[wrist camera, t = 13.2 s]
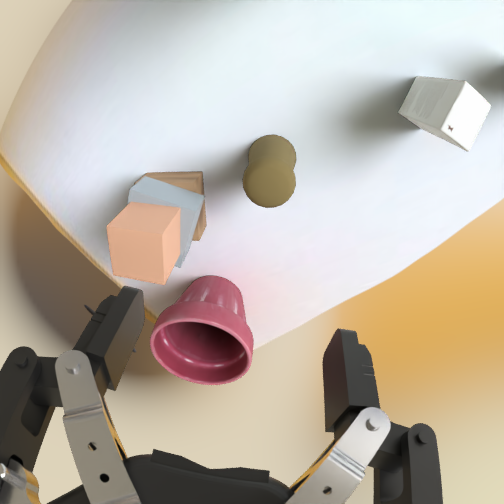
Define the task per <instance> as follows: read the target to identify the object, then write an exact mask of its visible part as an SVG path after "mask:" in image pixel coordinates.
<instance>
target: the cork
mask: <svg viewBox="0 0 504 504" xmlns="http://www.w3.org/2000/svg"><path fill="white" fill-rule="evenodd" d="M248 159H249V165H248V167H247V168H246V170H245V172H244V176H243V188H244V190H245V193H246V195H247V197H248V198H249V199H250V200H251V201H252V202H253V203H255V204H257V205H259V206H262V207H266V208H272V207H277V206H280V205H282V204H284V203H285V202H286V201H288V200H289V198H290V197H291V196H292V194H293V193H294V189H295V186H296V180H295V174H294V172H293V169H294V166H295V163H296V152H295V150H294V147H293V146H292V144H291V143H290V142H289V141H288V140H286V139H285V138H283V137H281V136H278V135H266V136H263V137H260V138H259V139H257V140H256V141H255V142H254V143H253V144H252V146H251V148H250V150H249V154H248Z"/></svg>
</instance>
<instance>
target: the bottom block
mask: <svg viewBox="0 0 504 504" xmlns="http://www.w3.org/2000/svg"><path fill="white" fill-rule="evenodd" d="M144 176H147V177H150V178H153V179H156V180H159V181H162V182H165V183H168V184H171V185H174V186H177V187H180V188H183V189H186V190H189V191H192V192H195V193H198V194H201V195H204V187H203V172H155V173H146V174H145V175H144ZM144 176H142V177H141V178H140V179H139V180H138V181H136V182H135V183H134V185H135V184H136V183H137V182H139V181H140V180H141V179H142V178H143V177H144ZM205 227H206V215H205V201H203V204H202V208H201V211H200V214H199V218H198V221H197V225H196V228H195V231H194V235H193V238H192V240H193V241H199V240H200V238H201V236H202V234H203V232H204V230H205Z"/></svg>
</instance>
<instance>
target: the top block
mask: <svg viewBox="0 0 504 504" xmlns="http://www.w3.org/2000/svg"><path fill="white" fill-rule="evenodd" d="M204 198H205V196H204V195H201V194H198V193H195V192H192V191H189V190H186V189H183V188H180V187H177V186H174V185H171V184H168V183H165V182H162V181H159V180H156V179H153V178H150V177H147V176H144V177H143V178H142V179H141V180H140V181H139V182H137V183H136V184H135V185H134V186H133V187H132V188H130V191H129V196H128V203H127V205H128V204H129V203H130V202H139V203H147V204H156V205H164V206H172V207H180V208H181V214H180V256H179V258H178V259H177V261H176V263H175V265H174V266H176V267H179V268H181V265H182V263H183V261H184V259H185V257H186V255H187V253H188V251H189V249H190V245H191V242H192V238H193V235H194V231H195V228H196V225H197V221H198V218H199V214H200V211H201V208H202V204H203V201H204Z"/></svg>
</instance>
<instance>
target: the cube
mask: <svg viewBox="0 0 504 504" xmlns="http://www.w3.org/2000/svg"><path fill="white" fill-rule="evenodd" d="M180 214H181V208H180V207H172V206H164V205H156V204H147V203H139V202H130V203H129V204H128V205H127V206H126V207H125V208H124V209H123V210H122V211H121V212H120V213H119V214H118V215H117V216H116V217H115V218H114V219H113V220H112V221H111V222H110V223H109V224H108V225H107V235H108V242H109V250H110V256H111V263H112V269H113V275H115V276H120V277H125V278H130V279H135V280H140V281H145V282H151V283H156V284H162V285H165V283H166V281H167V279H168V277H169V275H170V273H171V271H172V269H173V267H174V265H175V263H176V261H177V259H178V258H179V256H180Z"/></svg>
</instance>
